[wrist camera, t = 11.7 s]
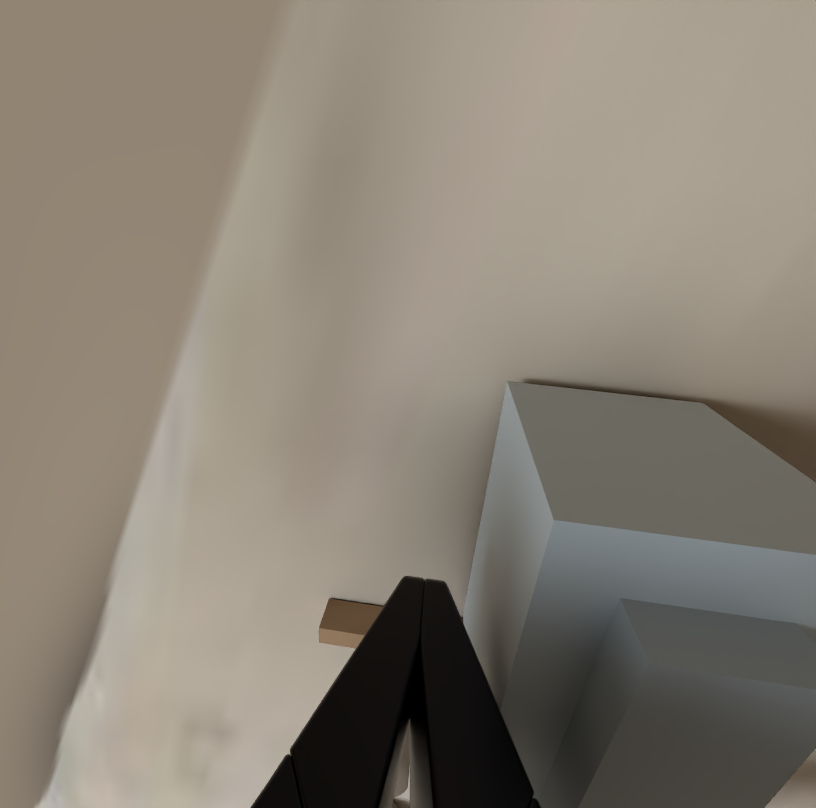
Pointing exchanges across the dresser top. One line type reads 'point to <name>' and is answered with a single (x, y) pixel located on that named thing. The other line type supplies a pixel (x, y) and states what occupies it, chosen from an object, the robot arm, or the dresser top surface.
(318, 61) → the dresser top surface
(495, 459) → the block
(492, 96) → the dresser top surface
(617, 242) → the dresser top surface
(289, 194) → the dresser top surface
